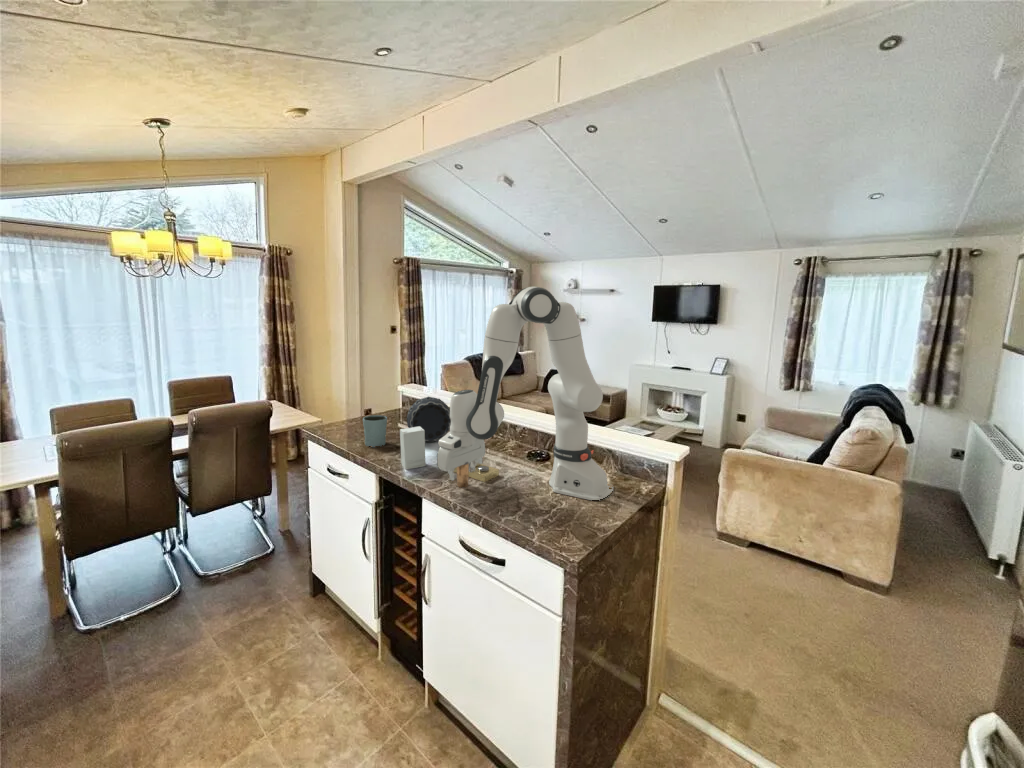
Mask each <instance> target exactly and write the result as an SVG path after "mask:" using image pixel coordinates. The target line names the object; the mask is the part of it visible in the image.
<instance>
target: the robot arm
mask: <svg viewBox="0 0 1024 768" xmlns="http://www.w3.org/2000/svg"><path fill="white" fill-rule="evenodd" d="M528 322H529V323H534V324H535V323H536V324H543V326H544V327H545V330H546V334H547V342H548V347H549V353H550V358H551V362H552V364H553V366H554V367H555V369H556V370H557V373H556V374H554V375H552V376H551V378H550V379H549V380H548V384H547V390H548V393H549V395H550V398H551V401H552V407H553V413H554V418H555V419H554V420H555V443H554V445H553V466H552V469H551V475H550V478H549V481H548V484H549V486H550V487H551V488H552V491H553V492H554V493H557V494H561V495H564V496H565V495H566V496H570V497H575V498H579V499H585V500H588V501H592V500H599V501H601V500H600V499H603V498H605V497H607V496H608V495H609V494H610V493H611V492H612V491H613V492H614V486H613V487H611V488H612V489H609V487H610V486H608V485H607V484H608V478H607V473H606V471H605V470H604V469H603V468H602V467H601V466H600V465H599V464H598V463H597V462H596V461H595V460H594V459H593V458H592V455H593V454H594V451H595V450H594V449H592V450H590V449H589V446H588V437H589V436H588V435H589V423H588V420H586V419H587V418H585V417H586V416H585V414H584V413H592V412H594V411H596V410H597V409H599V408H600V406H601V404H602V402H603V398H604V395H603V390H602V388H601V387H600V386H599V384H598V383H597V382H596V380H595V378H594V376H593V373H592V370H591V368H590V364H589V363H588V360H587V357H586V353H585V348H584V342H583V335H582V330H581V326H580V325H581V324H580V321H579V318H578V315H577V312H576V310H575V307H574V306H573V304H571V303H569V302H566V301H565V302H564V301H560V302H559V301H558V300H557V299H556V297H555V296H554V295H553V294H552V293H551V291H549V290H548V289H546V288H544V287H540V286H528V287H524V288H522V289H520V290H519V291H518V292H517V293H516V295H514V297H512V299H511V301H510V302H509V303H501V304H497V305H495V306H494V307H493V308H492V310H491V312H490V315H489V318H488V321H487V325H486V329H485V333H484V341H483V350H482V364H481V366H482V367H481V374H480V380H479V384H478V390H477V393H476V391H475V390H474V389H462V390H459V391H456V392H455V393H453V395H452V396H451V397H450V402H449V403H450V405H449V409H450V419H451V425H450V429H449V431H448V433H447V434H446V435H445V436H444V437H442V438H441V439H439V440H437V441H438V446H439V448H438V452H437V453H438V466H437V467H438V468H439V469H440V470H441V471H444V472H447V473H448V475H449V480H451V481H455V480H457V473H455V472H453V471H454V468H456V467H459V466H461V465H464V464H465V462H468V463H469V462H471V461H472V462H471V465H470V467H469V472H474V471H475V467H476V464H477V462H478V459H479V458H481V457H482V458H484V457H485V455H486V443H485V440H489V439H491V438H492V437H493V436H494V435H495V434H496V433H497V432H498V428H499V426H500V425H501V424H502V421H503V420H504V419H505V418H504V417H505V411H504V407H503V406H502V405H501V404H500V402H498V397H499V391H500V388H501V387H500V385H501V383H502V380H503V377H504V376H505V374H506V372H507V370H508V369H509V368H510V366H511V365H512V364H513V362H514V360H515V357H516V354H517V351H518V347H519V341H520V335H521V331H522V328H523V326H524V325H525V324H527V323H528ZM608 497H609V496H608ZM608 497H607V498H608ZM605 499H606V498H605ZM603 500H604V499H603Z"/></svg>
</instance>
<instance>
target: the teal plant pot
mask: <svg viewBox="0 0 1024 768" xmlns="http://www.w3.org/2000/svg"><path fill="white" fill-rule="evenodd" d="M387 421H388V417H387V416H386V415H382V414H381V415H379V414H373V415H366V416H364V417H363V418H362V424H363V429H364V430H363V433H364V435H363V436H364V444H365V447H367V446H372V447H371V448H376V447H375V446H380V447H383V446H385V445H386V440H387V439H386V435H387V423H388V422H387ZM382 445H383V446H382Z"/></svg>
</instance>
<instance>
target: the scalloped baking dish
mask: <svg viewBox="0 0 1024 768" xmlns="http://www.w3.org/2000/svg"><path fill="white" fill-rule="evenodd" d="M406 424H407V428H412V427H418V426H420V427H421V428H422V429H423V430H425V443H426V442H427V443H430V442H431V443H432V442H436V441H439V440H440V439H441V438H442V437H444V436H445V435H446V434H447V433H448V432H450V425H451V419H450V406H448V404H447V403H446V402H445V401H444V400H442V399H441V398H437V397H432V396H427V397H422V398H419V399H417V400H416V401H415V402H414V403H413V404H412V405H411V406H410V407H409V409H408V412H407V415H406Z"/></svg>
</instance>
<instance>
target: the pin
mask: <svg viewBox="0 0 1024 768" xmlns="http://www.w3.org/2000/svg"><path fill="white" fill-rule="evenodd" d="M469 478H470V477H469V463H468V462H465V464H464V465H461V466H459V467H457V473H456V487H457V486H458V487H457V488H460V487H461V489H463V488H462V487H465V488H468V487H469Z"/></svg>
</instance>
